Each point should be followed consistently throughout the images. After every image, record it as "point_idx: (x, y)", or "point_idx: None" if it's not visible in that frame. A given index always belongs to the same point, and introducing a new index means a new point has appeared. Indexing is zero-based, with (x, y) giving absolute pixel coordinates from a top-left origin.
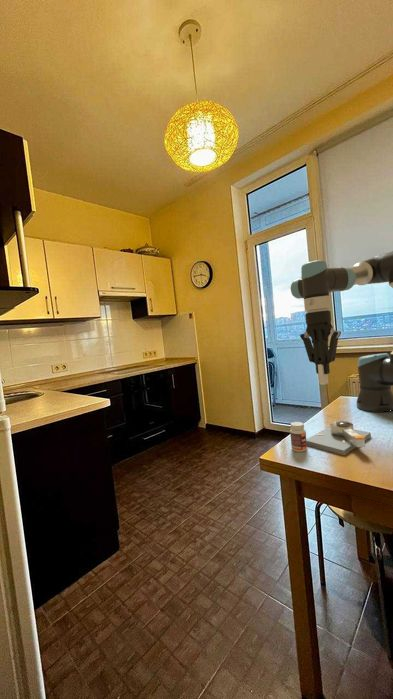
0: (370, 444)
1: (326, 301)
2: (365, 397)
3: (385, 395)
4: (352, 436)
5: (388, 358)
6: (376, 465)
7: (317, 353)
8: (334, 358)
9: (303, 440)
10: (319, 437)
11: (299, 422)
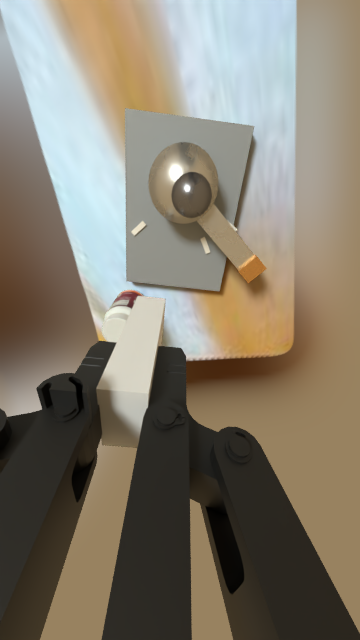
0: (256, 195)
1: None
2: None
3: None
4: (235, 265)
5: None
6: (276, 297)
7: (45, 611)
8: (266, 476)
9: None
10: (145, 247)
11: (116, 321)
